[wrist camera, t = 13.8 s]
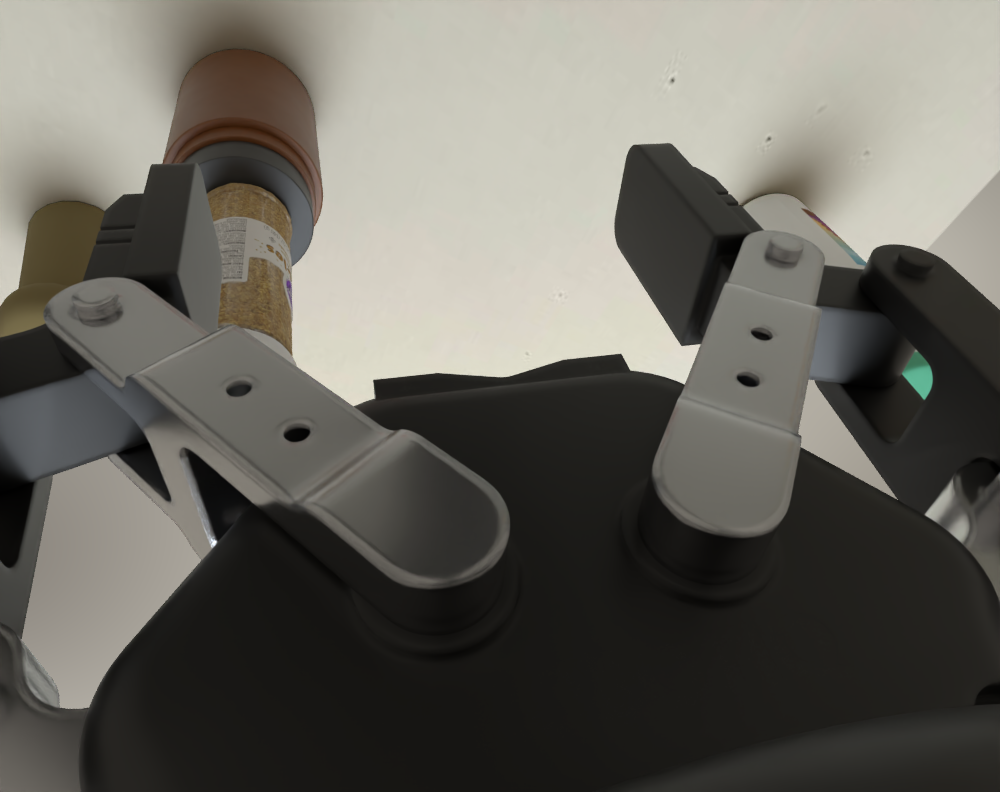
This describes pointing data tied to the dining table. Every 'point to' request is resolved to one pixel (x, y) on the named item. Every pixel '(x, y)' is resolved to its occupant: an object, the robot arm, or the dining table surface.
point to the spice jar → (254, 263)
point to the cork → (50, 261)
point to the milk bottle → (802, 222)
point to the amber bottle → (251, 133)
